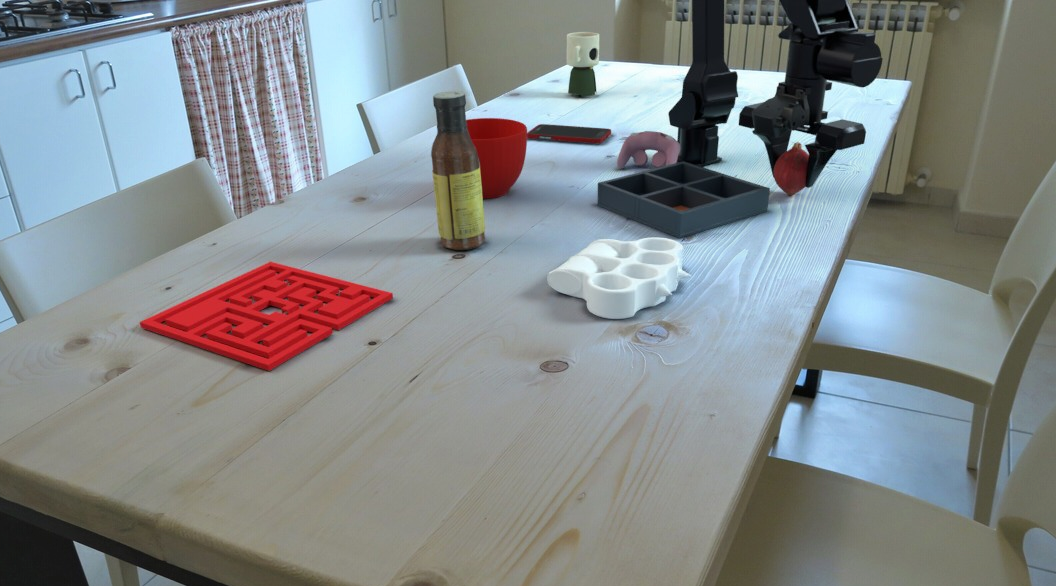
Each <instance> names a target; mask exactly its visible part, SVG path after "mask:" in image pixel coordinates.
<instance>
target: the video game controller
mask: <svg viewBox="0 0 1056 586" xmlns="http://www.w3.org/2000/svg"><path fill="white" fill-rule="evenodd" d="M646 151H656V152H655V153H654V154H653V155H652V157H651V164H652V165H653V166H654V167H655V168H659V167H663V166H667V165H671V164H675V163H678V162H677V159H678V154H679V152H680V144H679V143H678V142H677V139H676V138H674V137H673V135H672V136H671V135H669V134H667V133H663V132H661V131H651V130H645V131H639V132H632V133H630V135H628V136H627V137H626V138H625V139H624V141H623V143H622V146H621V148H620V150H619V154H618V156H617V162H616V165H617V168H618V170H622V169H624V168H625V167H626V165H627V164H628V162H629V160H630V159H631V158H632V159H633V162H634V164H635V165H636V166H639V167H644V166H645V165H646V164H647V163H648V162H649V156H648V153H647V152H646Z"/></svg>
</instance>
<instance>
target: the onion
mask: <svg viewBox="0 0 1056 586" xmlns="http://www.w3.org/2000/svg"><path fill="white" fill-rule="evenodd" d="M802 145H803V144H802V143H800V142H799V141H796V142H794V143H793V146H792V147H791V148H790V149H787V152H785V153H784V154H782V155H781V156H780V157H779V158H778V160H777V161H776V164H775V166H774V177H773V179H774V182H775V184H776V185H777V186H778V188H780V189H781V190H782V191H783V192H784V193H785V194H787V195H788V196H794V195H796V194H798V193H799V192H801V191H802V190H804V189H805V188H807V187H806V173H807V166H808V158H809V153H808V152H807V151H806V150H804V149H803V148H802Z"/></svg>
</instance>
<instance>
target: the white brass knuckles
mask: <svg viewBox="0 0 1056 586" xmlns="http://www.w3.org/2000/svg"><path fill="white" fill-rule="evenodd" d="M587 245H588V246H587V247H585V248H584V249H582V250H581V251H579V252H578V253H576V254H574V255H572V256H570V257H568V260H567V261H565V262H564V263H563V264H561V265H560V266H558V267H557V268H555V269H553V270H550V271H549V272H548V273H547V277H546V281H547V284H548V285H549V287H551V289H553V290H555V291H557V292H558V293H561V294H564V295H568V296H570V297H574V298H579V299H583V300H585V301H586V308H587V310H588V311H589V312H590V313H591V314H593V315H594V316H597V317H599V318H604V319H609V320H623V319H629V318H633V317H634V316H635V314H636V313H637V312H638V311H640V310H642V309H646V308H651V307H656V306H658V305H660V304H661V303H663V302H665V301H666V299H667V298H666V297H668V296H673V292H676V291H677V288H678V285H679V282H680V281H682V280H683V281H684V280H685V279H688V278H691V277H692V275H691V274H690V273H688V272H687V271H685V270H683V258H684V246H683V245H682V243H680V242H679V241H677V240H674V239H671V238H665V237H644V238H639V239H637V240H629V241H627V240H626V241H624V240H619V239H612V238H599V239H596V240H594V241H592V242H589V243H588V244H587Z"/></svg>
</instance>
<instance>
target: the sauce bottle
mask: <svg viewBox="0 0 1056 586" xmlns="http://www.w3.org/2000/svg"><path fill="white" fill-rule="evenodd" d="M466 99H467V98H466V94H465V92H463V91H459V90H458V91H457V90H450V91H449V90H448V91H441V92H437V93H434V95H433V97H432V102H433V107H434V109H435V115H436V131H437V132H436V135H435V137H434V140H433V142H432V145H431V151H430V157H431V164H432V171H431V173H432V180H433V190H434V199H435V208H436V218H437V227H438V235H439V236H440V242H441V245H442V247H443V248H445V249H450V250H454V251H467V250H468V251H470V250H473V249H476V248H479V247H480V246H482V245H483V244H484V243H485V241H486V236H485V235H486V234H485V230H486V222H485V210H484V200H483V199H484V198H483V197H482V185H481V174H480V163H479V158H478V154H477V151H476V148H475V146H474V144H473V143H472V140H471V138H470V135H469V132H468V129H467V123H466V120H467V115H466V105H467V100H466Z"/></svg>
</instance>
